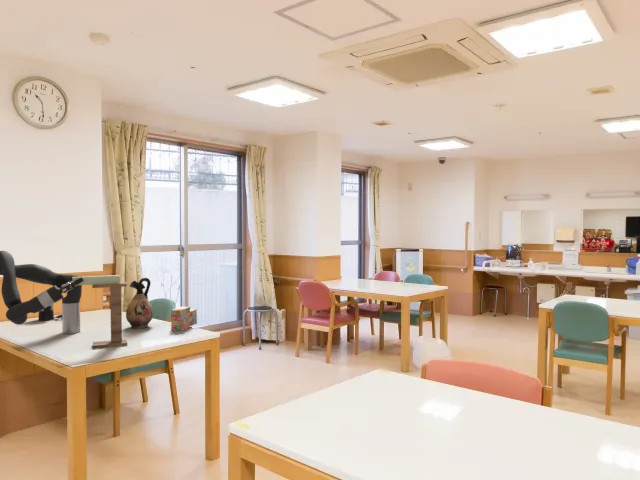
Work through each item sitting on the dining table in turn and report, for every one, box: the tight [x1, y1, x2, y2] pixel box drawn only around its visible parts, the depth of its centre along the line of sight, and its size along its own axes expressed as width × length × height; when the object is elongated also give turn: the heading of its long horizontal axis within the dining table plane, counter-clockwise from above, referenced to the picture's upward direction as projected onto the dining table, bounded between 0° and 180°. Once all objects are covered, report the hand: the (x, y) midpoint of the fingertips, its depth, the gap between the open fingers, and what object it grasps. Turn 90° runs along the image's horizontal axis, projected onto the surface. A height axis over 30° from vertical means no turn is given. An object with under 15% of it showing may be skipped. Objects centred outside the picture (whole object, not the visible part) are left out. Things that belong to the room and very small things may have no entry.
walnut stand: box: [91, 281, 128, 350], centre depth 256 cm, size 9×16×32 cm, turn 115°
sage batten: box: [72, 274, 121, 286], centre depth 253 cm, size 3×22×4 cm, turn 115°
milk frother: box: [38, 304, 62, 322], centre depth 326 cm, size 14×16×15 cm
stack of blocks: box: [170, 306, 198, 332], centre depth 302 cm, size 21×6×12 cm, turn 168°
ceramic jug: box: [125, 277, 154, 329], centre depth 302 cm, size 17×15×30 cm
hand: (82, 278), depth 250 cm, fingers open, 6 cm apart
